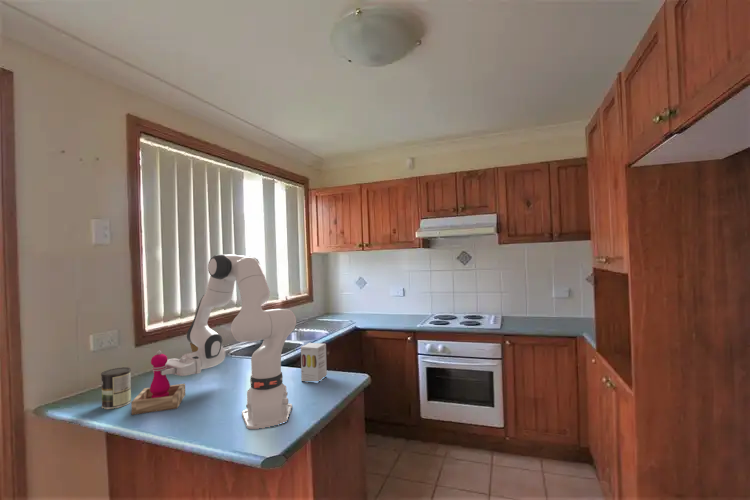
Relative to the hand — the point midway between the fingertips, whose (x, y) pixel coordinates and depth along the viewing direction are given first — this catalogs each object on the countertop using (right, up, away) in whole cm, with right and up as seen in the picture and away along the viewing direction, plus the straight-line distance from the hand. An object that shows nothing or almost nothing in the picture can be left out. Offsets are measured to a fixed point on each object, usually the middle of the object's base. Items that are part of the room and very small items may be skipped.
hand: (157, 371), depth 153 cm
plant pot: (-9, -15, +60) cm, 63 cm away
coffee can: (-18, -15, +2) cm, 23 cm away
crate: (+1, -14, 0) cm, 14 cm away
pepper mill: (+1, -11, +1) cm, 12 cm away
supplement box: (+61, -12, +25) cm, 67 cm away
